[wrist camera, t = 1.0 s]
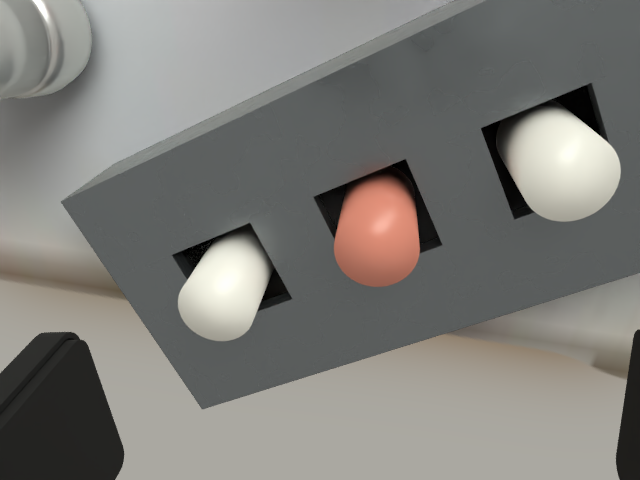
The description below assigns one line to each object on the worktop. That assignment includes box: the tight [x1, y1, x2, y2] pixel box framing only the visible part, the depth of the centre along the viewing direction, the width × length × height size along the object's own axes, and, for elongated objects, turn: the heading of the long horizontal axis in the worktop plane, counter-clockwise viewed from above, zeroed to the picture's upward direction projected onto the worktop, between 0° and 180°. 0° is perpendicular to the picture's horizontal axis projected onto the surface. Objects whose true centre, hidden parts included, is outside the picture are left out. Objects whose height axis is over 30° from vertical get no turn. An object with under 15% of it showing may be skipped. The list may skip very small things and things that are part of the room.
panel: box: [61, 0, 640, 409], centre depth 29 cm, size 28×14×6 cm, turn 116°
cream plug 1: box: [178, 223, 274, 341], centre depth 29 cm, size 4×4×6 cm
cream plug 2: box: [496, 100, 621, 222], centre depth 24 cm, size 4×4×6 cm
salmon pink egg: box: [334, 166, 420, 287], centre depth 27 cm, size 4×4×6 cm
